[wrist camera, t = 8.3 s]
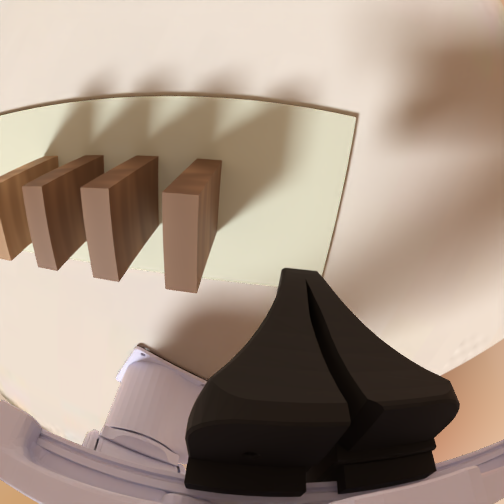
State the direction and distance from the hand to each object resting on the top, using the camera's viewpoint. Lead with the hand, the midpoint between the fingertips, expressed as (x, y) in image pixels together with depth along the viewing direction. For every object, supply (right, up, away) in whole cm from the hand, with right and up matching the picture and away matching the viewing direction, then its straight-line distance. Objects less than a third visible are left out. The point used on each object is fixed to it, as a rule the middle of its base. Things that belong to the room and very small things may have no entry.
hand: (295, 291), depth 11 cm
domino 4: (-5, +5, +8) cm, 11 cm away
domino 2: (-13, +6, +8) cm, 16 cm away
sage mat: (-11, +6, +8) cm, 15 cm away
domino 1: (-17, +7, +8) cm, 20 cm away
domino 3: (-9, +6, +8) cm, 13 cm away
